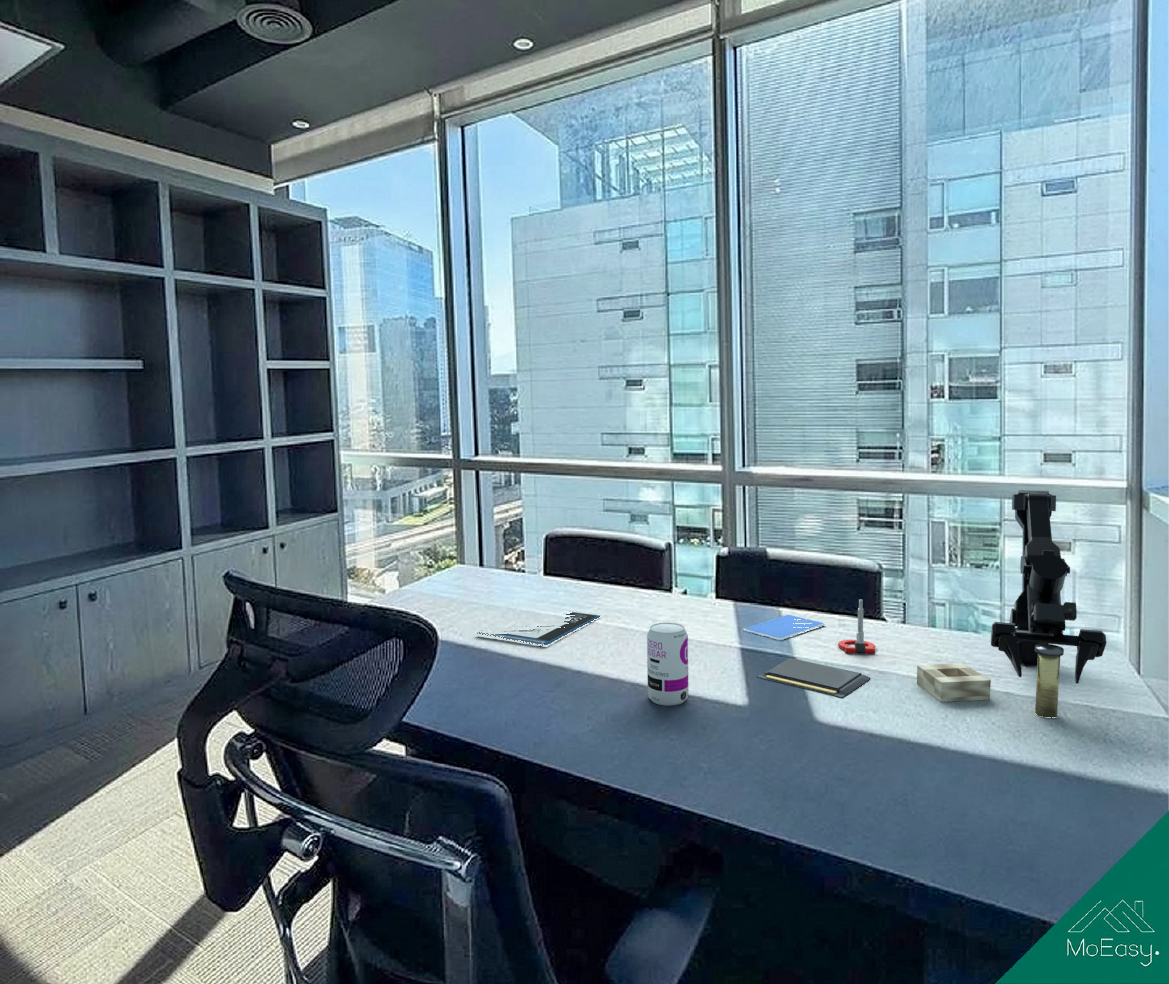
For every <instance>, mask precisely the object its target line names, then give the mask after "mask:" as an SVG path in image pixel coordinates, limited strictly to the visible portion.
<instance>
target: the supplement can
mask: <svg viewBox="0 0 1169 984" xmlns="http://www.w3.org/2000/svg"><path fill="white" fill-rule="evenodd" d="M688 635H689V634H688V633H687V630H686V628H685V625H682V624H680V623H676V622H658V623H654V624H651V625H650V626H649V630H648V631H647V633H646V647H647V648H646V655H647V656H646V657H647V659H646V661H647V662H646V664H647V666H646V667H647V669H646V670H647V672H646V673H647V696H648V697H647V698H649V699H650V701H651V702H652V703H654V704H657V705H660V706H668V707H669V706H677V705H681V704H683V703H685V701H686V700H688V698H689V636H688Z"/></svg>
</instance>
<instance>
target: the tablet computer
mask: <svg viewBox="0 0 1169 984" xmlns="http://www.w3.org/2000/svg"><path fill="white" fill-rule="evenodd" d="M794 619H796V620H794ZM797 619H801V620H798V621H797ZM806 619H807V620H806ZM793 623H794V624H793ZM795 623H812V624H805V625H804V624H795ZM824 625H825V626H826V624H825V623H824V622H822V621H821V622H820V621H818V620H812V619H809V618H804V617H801V616H796V615H792V614H784V615H782V616H780V617H779V616H778V617H776V618H773V619H770V620H767V621H763V622H760V623H758V624H754V625H751V626H748V627H744V628H742V631H743V630H744V631H743V632H745V631H746V632H745V633H749V632H753V633H756V634H758V635H757V636H759V635H761V636H760V637H762V636H769V637H771V638H774V639H777V640H784V639H786V638H788V637H790V636H794V635H796V634H798V633H800V632H805V631H806V630H808V629H809V630H810V629H811V628H815V627H821V626H824ZM825 626H824V627H825ZM793 627H796V628H793ZM797 627H802V628H797ZM803 627H804V628H803ZM805 627H809V628H805ZM821 628H822V627H821ZM794 637H795V636H794ZM786 640H787V639H786ZM784 641H785V640H784Z"/></svg>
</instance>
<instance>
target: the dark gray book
mask: <svg viewBox="0 0 1169 984" xmlns="http://www.w3.org/2000/svg"><path fill="white" fill-rule="evenodd" d="M756 678H757V679H761V680H765V681H769V682H773V683H778V684H780V685H781V684H782V685H785V686H790V687H794V688H798V689H803V690H806V691H809V692H814V693H818V694H821V695H825V696H826V695H827V696H830V697H835V698H838V699H845V697H847V696H849V695H852V693H854V692H855V691H857V690H858V689H860V688H862V687H863V686H864V685H866V684H867V683H868V682H870V681H871V680H870V679H871V677H870V676H867V675H866V674H862V673H861V672H858V671H854V670H853V671H852V670H847V669H843V668H839V667H834V666H830V665H825V664H821V663H815V662H811V661H806V660H801V659H797V658H794V657H793V658H789V659H786V660H784V661H782V662H781V663H779V664H777V665H776V666H774V667H772V668H770V669H769V670H767V671H766V670H765V672H763V673H761V674H760V675H758V676H756ZM869 680H870V681H869ZM866 682H867V683H866ZM865 683H866V684H865ZM862 685H863V686H862ZM859 687H860V688H859ZM853 691H854V692H853Z"/></svg>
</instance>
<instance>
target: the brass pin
mask: <svg viewBox="0 0 1169 984" xmlns="http://www.w3.org/2000/svg"><path fill="white" fill-rule="evenodd" d="M1035 652H1037V653H1038V662H1037V665H1036V688H1035V708H1034V714H1035V713H1036V714H1037V715H1038V716H1037V715H1036V714H1035V715H1036V716H1037V717H1039V716H1043V717H1051V718H1052V717H1057V718H1058V712H1059V711H1058V708H1059V688H1060V672H1061V671H1060V669H1061V668H1060V667H1061V657H1062V656H1063V655H1064V653H1065V649H1064V648H1063V647H1062V646H1060V645H1057V644H1037V645H1035Z"/></svg>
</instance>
